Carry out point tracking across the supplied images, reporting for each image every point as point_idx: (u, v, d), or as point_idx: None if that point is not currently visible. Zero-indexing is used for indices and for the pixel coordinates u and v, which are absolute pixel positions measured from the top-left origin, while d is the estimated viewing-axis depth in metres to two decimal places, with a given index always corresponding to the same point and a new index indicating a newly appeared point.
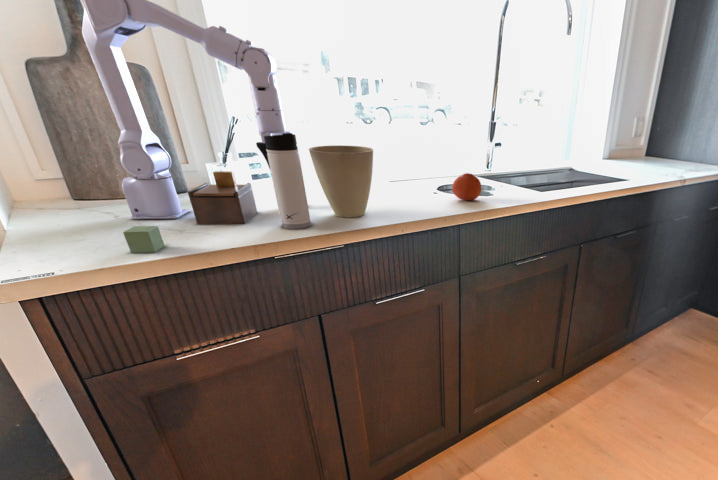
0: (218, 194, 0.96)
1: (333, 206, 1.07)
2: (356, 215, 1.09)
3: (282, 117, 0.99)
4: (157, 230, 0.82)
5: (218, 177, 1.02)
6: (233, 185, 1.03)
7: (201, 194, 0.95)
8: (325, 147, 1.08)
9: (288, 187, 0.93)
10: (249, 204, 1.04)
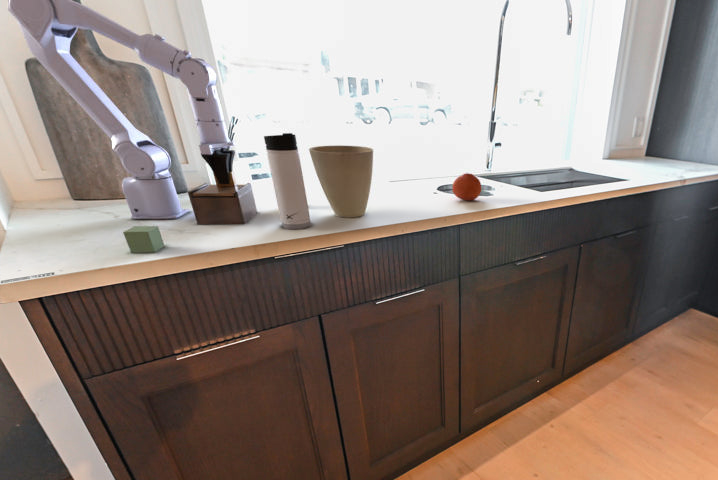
0: (218, 194, 0.96)
1: (333, 206, 1.07)
2: (356, 215, 1.09)
3: (224, 128, 0.97)
4: (157, 230, 0.82)
5: None
6: (233, 185, 1.03)
7: (201, 194, 0.95)
8: (325, 147, 1.08)
9: (288, 187, 0.93)
10: (249, 204, 1.04)
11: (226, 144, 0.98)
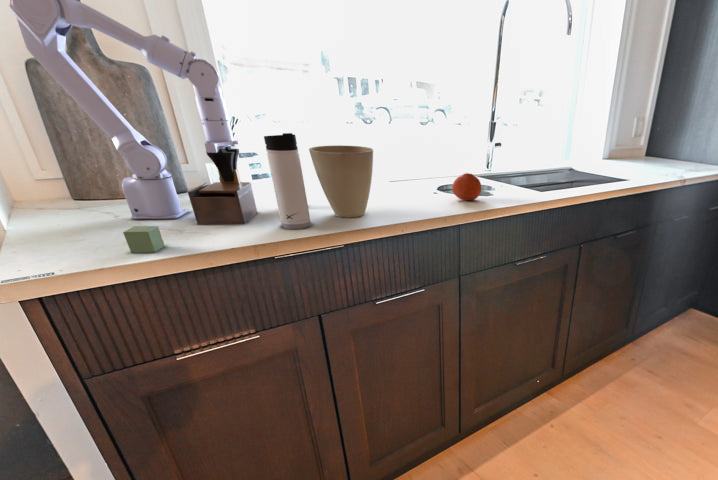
0: (223, 191, 0.99)
1: (333, 206, 1.07)
2: (356, 215, 1.09)
3: (228, 127, 1.00)
4: (157, 230, 0.82)
5: None
6: (237, 183, 1.06)
7: (207, 191, 0.98)
8: (325, 147, 1.08)
9: (288, 187, 0.93)
10: (249, 204, 1.04)
11: (231, 143, 1.01)
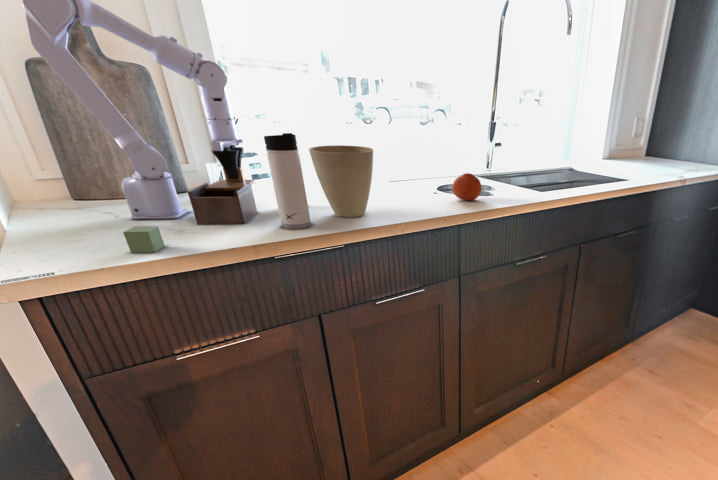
0: (228, 188, 1.02)
1: (333, 206, 1.07)
2: (356, 215, 1.09)
3: (233, 126, 1.03)
4: (157, 230, 0.82)
5: None
6: (242, 180, 1.09)
7: (212, 188, 1.01)
8: (325, 147, 1.08)
9: (288, 187, 0.93)
10: (249, 204, 1.04)
11: (235, 141, 1.04)
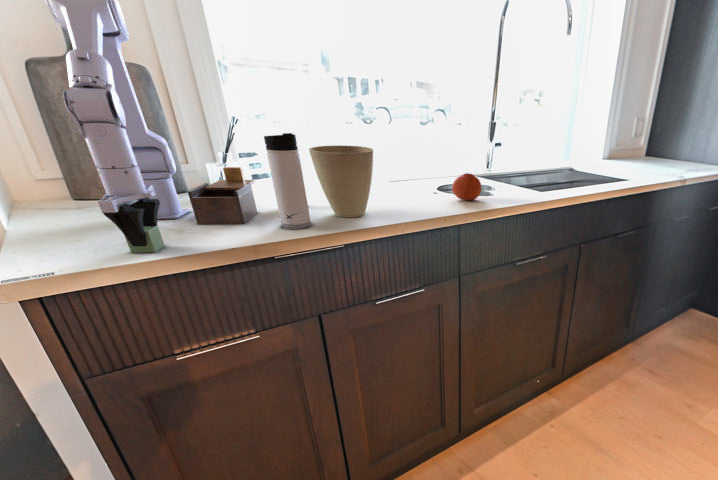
0: (228, 188, 1.02)
1: (333, 206, 1.07)
2: (356, 215, 1.09)
3: (137, 175, 0.75)
4: (157, 230, 0.82)
5: (228, 172, 1.08)
6: (242, 180, 1.09)
7: (212, 188, 1.01)
8: (325, 147, 1.08)
9: (288, 187, 0.93)
10: (249, 204, 1.04)
11: (140, 196, 0.76)
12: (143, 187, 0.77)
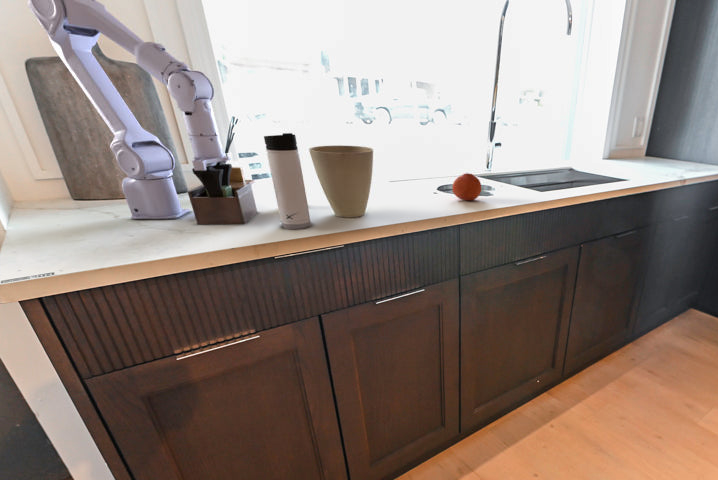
0: None
1: (333, 206, 1.07)
2: (356, 215, 1.09)
3: (218, 142, 0.94)
4: (230, 189, 1.00)
5: None
6: (242, 180, 1.09)
7: None
8: (325, 147, 1.08)
9: (288, 187, 0.93)
10: (249, 204, 1.04)
11: (221, 159, 0.95)
12: (222, 152, 0.95)
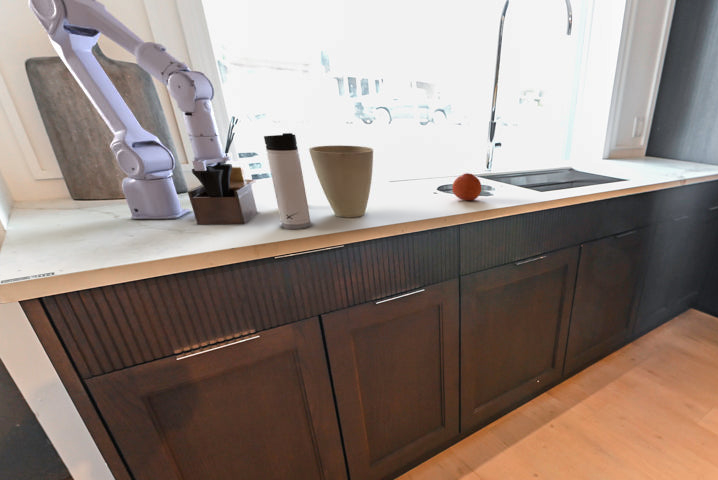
0: None
1: (333, 206, 1.07)
2: (356, 215, 1.09)
3: (218, 142, 0.94)
4: None
5: None
6: (242, 180, 1.09)
7: None
8: (325, 147, 1.08)
9: (288, 187, 0.93)
10: (249, 204, 1.04)
11: (221, 159, 0.95)
12: (222, 152, 0.95)
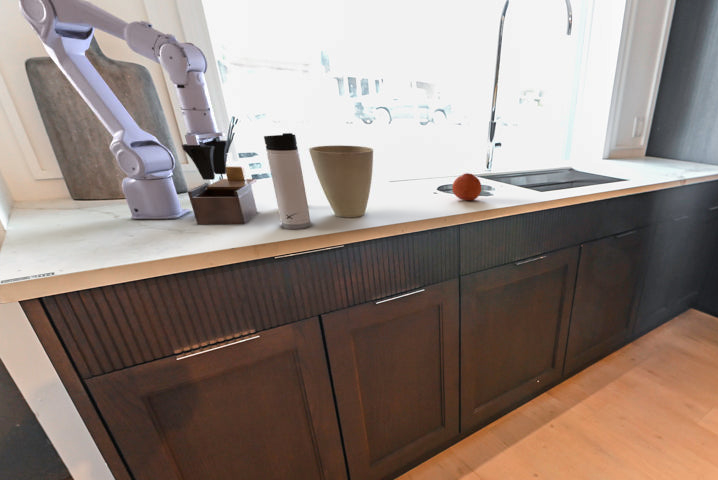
0: (230, 187, 1.03)
1: (333, 206, 1.07)
2: (356, 215, 1.09)
3: (212, 117, 0.92)
4: None
5: (229, 172, 1.09)
6: (243, 179, 1.10)
7: (214, 187, 1.02)
8: (325, 147, 1.08)
9: (288, 187, 0.93)
10: (249, 204, 1.04)
11: (214, 135, 0.92)
12: (216, 128, 0.93)
